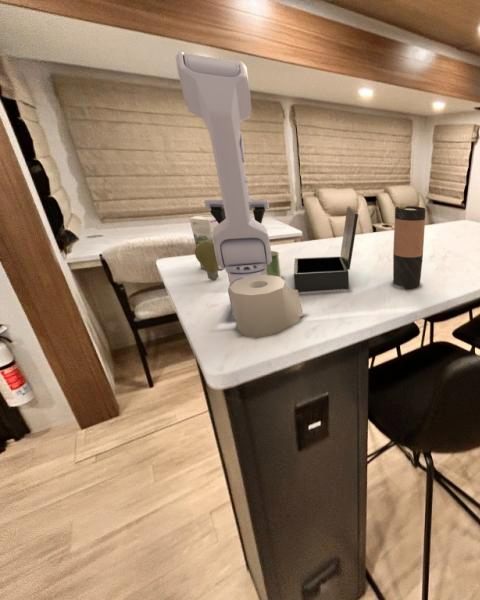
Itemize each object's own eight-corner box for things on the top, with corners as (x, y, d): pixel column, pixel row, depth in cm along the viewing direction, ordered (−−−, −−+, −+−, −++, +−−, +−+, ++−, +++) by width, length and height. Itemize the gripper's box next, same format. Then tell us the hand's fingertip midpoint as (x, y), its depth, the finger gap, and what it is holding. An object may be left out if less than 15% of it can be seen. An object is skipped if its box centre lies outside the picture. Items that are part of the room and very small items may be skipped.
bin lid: (355, 213, 70) (358, 214, 70) (347, 206, 82) (349, 206, 82) (346, 269, 75) (349, 269, 75) (340, 254, 87) (342, 255, 87)
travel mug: (418, 291, 79) (423, 210, 71) (389, 288, 80) (391, 208, 72) (422, 281, 86) (427, 207, 78) (395, 278, 87) (398, 205, 79)
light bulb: (196, 280, 80) (187, 242, 76) (217, 275, 84) (209, 238, 80) (210, 285, 77) (201, 245, 73) (230, 278, 82) (223, 241, 78)
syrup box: (231, 264, 93) (222, 215, 87) (219, 270, 88) (208, 218, 82) (213, 263, 94) (203, 214, 88) (200, 269, 88) (188, 217, 82)
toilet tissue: (313, 314, 65) (310, 276, 61) (259, 343, 54) (252, 299, 50) (282, 303, 69) (278, 266, 65) (226, 328, 58) (217, 286, 54)
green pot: (281, 282, 81) (277, 255, 78) (257, 283, 80) (253, 256, 77) (282, 275, 86) (279, 250, 83) (260, 276, 85) (256, 251, 82)
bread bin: (296, 295, 74) (293, 274, 71) (296, 276, 85) (294, 258, 83) (348, 291, 77) (348, 271, 75) (342, 274, 89) (341, 256, 87)
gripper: (267, 182, 82) (273, 232, 88) (205, 180, 78) (216, 233, 84) (264, 183, 76) (271, 238, 82) (197, 182, 72) (209, 239, 78)
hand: (243, 236), depth 82 cm, fingers open, 7 cm apart
